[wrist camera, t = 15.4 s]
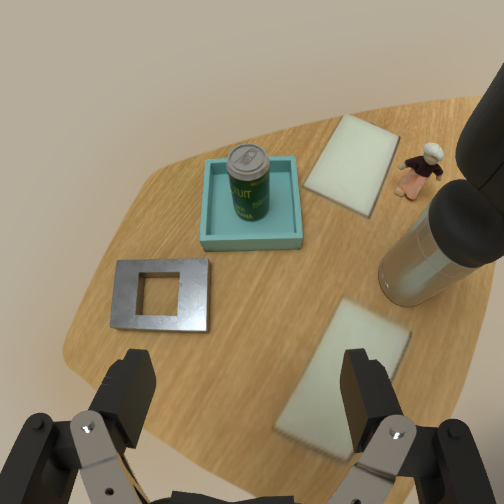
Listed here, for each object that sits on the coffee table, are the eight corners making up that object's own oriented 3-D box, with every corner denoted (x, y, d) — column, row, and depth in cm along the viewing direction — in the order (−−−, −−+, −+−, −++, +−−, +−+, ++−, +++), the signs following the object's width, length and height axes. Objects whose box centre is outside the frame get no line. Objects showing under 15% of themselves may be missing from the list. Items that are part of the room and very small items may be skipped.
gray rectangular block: (211, 264, 47) (208, 258, 44) (209, 333, 43) (205, 330, 41) (123, 265, 47) (116, 260, 45) (117, 329, 43) (109, 326, 41)
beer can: (247, 186, 50) (242, 135, 39) (276, 202, 49) (278, 153, 38) (227, 211, 49) (216, 163, 38) (256, 228, 48) (252, 183, 36)
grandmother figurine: (390, 200, 49) (418, 153, 38) (387, 181, 51) (412, 132, 39) (429, 204, 49) (462, 161, 37) (425, 185, 50) (455, 140, 38)
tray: (293, 171, 52) (295, 156, 48) (300, 249, 47) (303, 237, 43) (209, 174, 53) (205, 159, 49) (204, 251, 47) (199, 240, 44)
